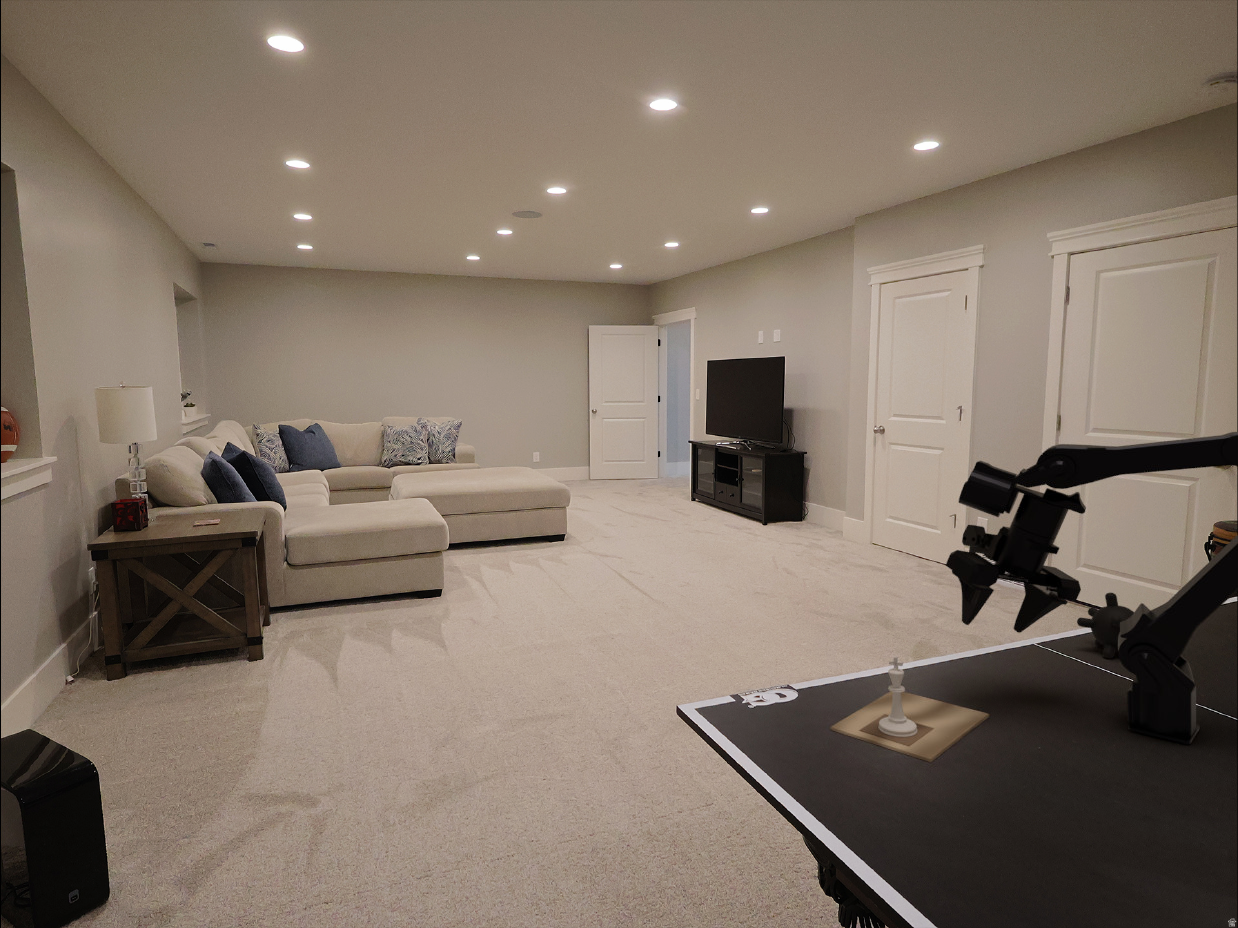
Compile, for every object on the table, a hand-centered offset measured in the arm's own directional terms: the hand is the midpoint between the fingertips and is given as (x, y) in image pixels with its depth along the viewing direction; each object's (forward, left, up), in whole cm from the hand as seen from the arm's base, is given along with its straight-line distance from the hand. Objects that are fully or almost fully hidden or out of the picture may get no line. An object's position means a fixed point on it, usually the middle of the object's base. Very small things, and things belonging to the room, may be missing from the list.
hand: (991, 627), depth 105 cm
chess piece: (+5, +18, -11) cm, 22 cm away
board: (+6, +14, -11) cm, 19 cm away
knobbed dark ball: (-7, -35, -12) cm, 37 cm away
